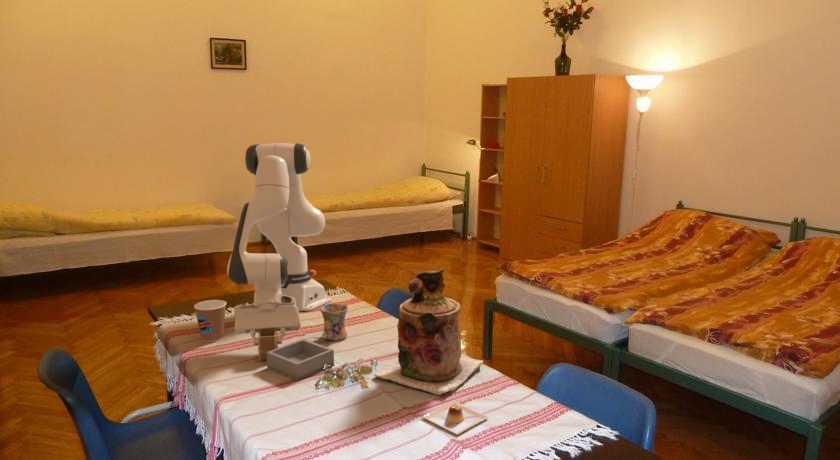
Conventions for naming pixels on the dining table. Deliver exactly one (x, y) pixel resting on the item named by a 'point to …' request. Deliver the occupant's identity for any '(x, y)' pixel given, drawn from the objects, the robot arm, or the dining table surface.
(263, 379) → the dining table surface
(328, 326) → the mug
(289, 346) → the grey crate
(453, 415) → the dessert
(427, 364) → the cookie jar
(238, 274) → the robot arm
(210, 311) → the coffee cup
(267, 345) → the square wooden cup
